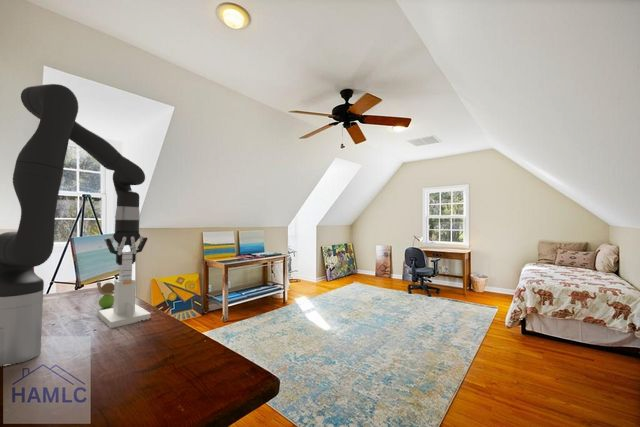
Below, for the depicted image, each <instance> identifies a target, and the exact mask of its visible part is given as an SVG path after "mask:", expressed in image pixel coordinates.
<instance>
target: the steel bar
mask: <svg viewBox="0 0 640 427" xmlns="http://www.w3.org/2000/svg"><path fill="white" fill-rule="evenodd" d="M132 254H133V251H131V250H122V254H121V255H122V265H118V266H119V270H118V279H119V281H128V280H132V278H133V264H132Z"/></svg>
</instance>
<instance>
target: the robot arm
mask: <svg viewBox="0 0 640 427" xmlns="http://www.w3.org/2000/svg"><path fill="white" fill-rule="evenodd" d="M20 100H21V103H22V105H23V107H25V109H26V110H27V111H28V112H29V113H30V114H31V115H33V116H34V117H36V118H37V119H38V120H39V122H38V126H37V129H36V130H35V131H34V133H33V134H32V135H31V137H30V138H29V139H28V141H26V143H25V145H24V146H23V147H22V148H21V150H20V152H19V153H18V156H17V157H16V160H15V165H14V170H13V173H12V185H13V189H14V192H15V195H16V198H17V200H18V203H19V206H20V220H19V224H18V228H17V231H7V232H3V233H2V232H1V233H0V366H2V365H5V364H14V365H16V364H15V363H18V364H21V362H22V363H25V362H28V361H29V360H32V359H34V358H36V357H38V356H39V355H40V354H41V353H42V352H41V350H42V332H43V329H42V328H43V309H44V308H43V307H44V306H43V304H44V286H45V282H44V279H43V278H41V277H40V276H38V274H36V272H35V271H34V268H35V267H39V266H41V265H43V264H45V263H46V261H48V260H49V258H50V257H51V255H52V253H53V250H54V245H55V244H54V243H55V226H56V212H57V206H58V200H59V193H60V188H61V184H62V179H63V175H64V168H65V160H66V156H67V151H68V147H69V142H70V141H72V142H73V143H74V144H75V145H77V146H79V147H80V148H81V149H83V151H85V152H86V153H87V154H89V155H90V156H91V157H92V158H93V159H94V160H95V161H96V162H98V163H99V164H100V165H101V166H103V167H104V168H105V169H106V170H109V171H113V173H112V182H113V186H114V191H115V194H116V209H115V214H114V215H115V216H114V234H113V235H112V236H111V237H108V238H107V237H105V238H104V242H105V245H106V247H107V248H108V250H109V251H108V252H110V253H111V254H113V255H115V263H116V264H117V265H118V266H119V265H122V255H121V254H122V251H124V250H123V249H124V247H125V246H129V249H130V250H129V251H133V254H132V265H134V264H135V263H136V260H137V254H138V253H141V252H142V251H143V250H144V247H145V245H146V244H147V241H148V237H146V236H142V235H141V234H140V217H141V216H140V215H141V214H140V195H139V193H138V192H137V191H133V190H132V187H131V186H139V185H142V184H143V183H144V182H145V181H146V174H145V171H144V170H143V169H142V168H141V167H140V166H139V165H137V164H136V163H135V162H134V161H131V160H130V159H128V158H127V157H125V156H123V155H122V154H121V153H120V151H118V150H117V149H116V148H115V147H114V146H113V145H112V144H111V143H110V142H108V140H106V139H104V138H103V137H101V136H100V135H99V134H96V133H95V132H93V131H91V130H89V129H88V128H86V127H84V126H83V125H82V124H80V123H78V122H77V121H76V119H77V118H78V113H79V101H78V99H77V96H76V94H75V93H74V91H72V90H71V89H70V88H69V87H68V86H65V85H63V84H57V83H49V84H48V83H47V84H38V85H31V86H28V87H25V88H24V89H23V90H22V91H21V93H20ZM138 240H139V244H138V246H136V243H137V241H138ZM114 241H115V242H116V243H117V246H116V249H115V247H114V244H113V243H114Z"/></svg>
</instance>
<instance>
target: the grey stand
mask: <svg viewBox="0 0 640 427" xmlns="http://www.w3.org/2000/svg"><path fill="white" fill-rule="evenodd" d="M113 284H114V291H113V292H114V293H113V296H114V305H113V307H109V308H103V309H100V310H97V317H98V318H99V319H101V320H102V321H103V322H104V323H105V324H106V325H107V326H108V327H109V328H110V329H114V328H117V327H121V326H125V325H130V324H134V323H139V322H142V321H141V320H143V321H146V320H145V319H147V320H150V319H149V318H151V317H152V316H151V314H152V313H151V312H149V311H148V310H146V309H144V308H142V307H141V306H140V305H138V304H136V287H137V279H135V278H133V277H132V280H128V281H119V278H117V279H114V283H113ZM138 321H139V322H138Z"/></svg>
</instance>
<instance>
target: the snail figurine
mask: <svg viewBox="0 0 640 427" xmlns="http://www.w3.org/2000/svg"><path fill="white" fill-rule="evenodd" d="M99 280H100V279H96V282H97V283H96V287H97V290H98V292H99V294H101V295H102V296H100V298H99V300H98V305H99V306H100V308H103V309H109V308H112V307H114V283H113V282H106V283H104V284H103V285H102V282H101V281H99Z"/></svg>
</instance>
